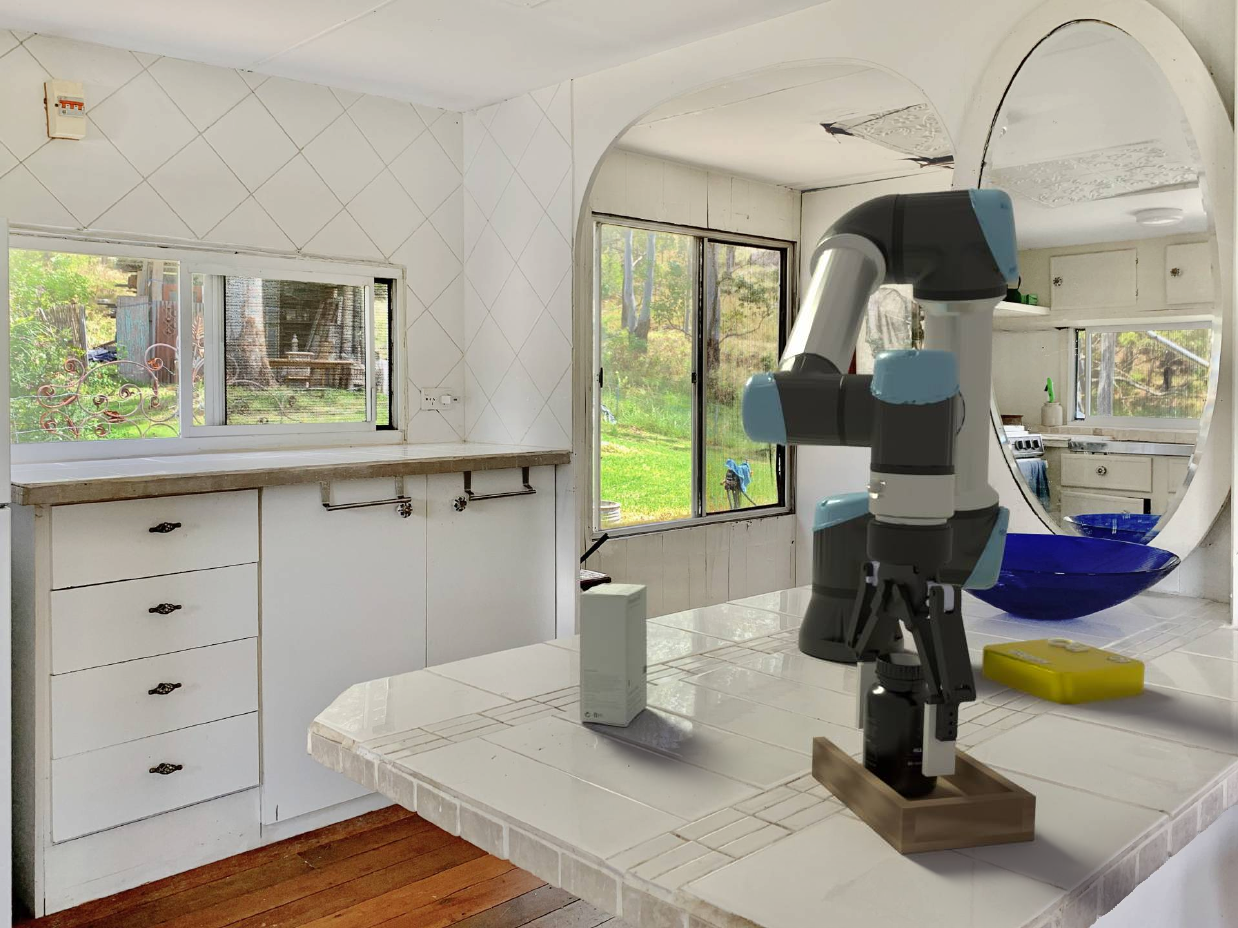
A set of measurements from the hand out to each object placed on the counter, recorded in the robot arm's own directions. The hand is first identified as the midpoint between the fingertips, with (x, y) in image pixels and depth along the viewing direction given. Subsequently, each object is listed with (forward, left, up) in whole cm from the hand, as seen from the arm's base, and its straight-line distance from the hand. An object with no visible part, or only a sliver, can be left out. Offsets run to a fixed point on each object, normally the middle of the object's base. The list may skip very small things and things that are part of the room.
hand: (901, 749), depth 94 cm
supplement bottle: (0, 0, -4) cm, 4 cm away
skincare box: (-28, -21, -5) cm, 35 cm away
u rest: (+3, 0, -4) cm, 5 cm away
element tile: (-29, +40, -5) cm, 50 cm away
